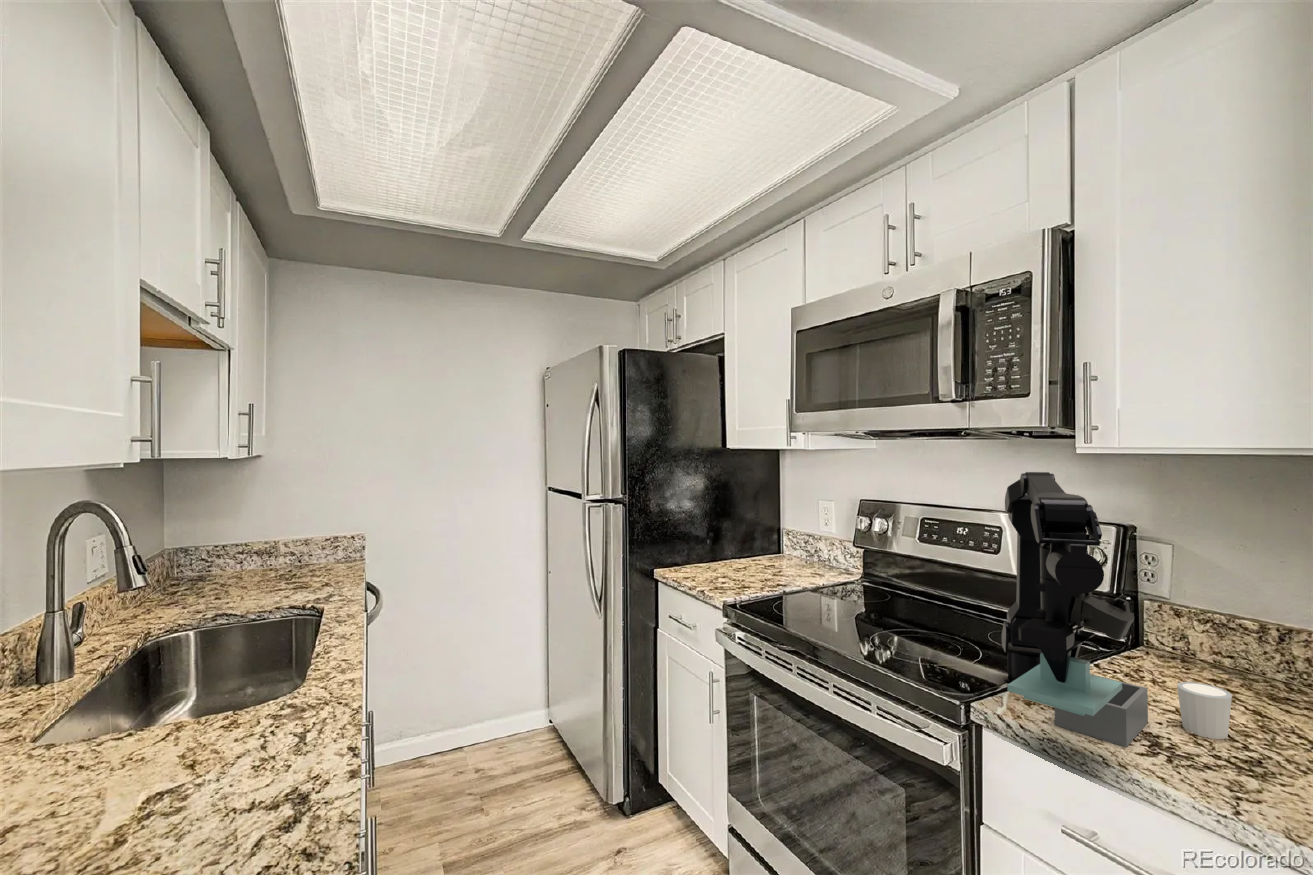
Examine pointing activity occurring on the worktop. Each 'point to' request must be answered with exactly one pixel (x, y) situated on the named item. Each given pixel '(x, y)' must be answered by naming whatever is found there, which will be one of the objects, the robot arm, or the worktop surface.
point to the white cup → (1204, 709)
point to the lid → (1066, 687)
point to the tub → (1112, 717)
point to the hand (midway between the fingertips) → (1063, 679)
